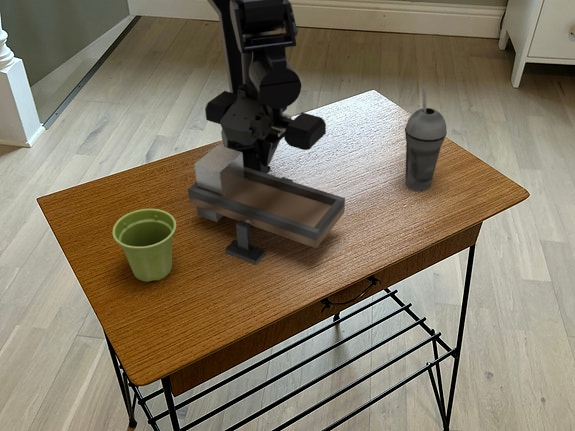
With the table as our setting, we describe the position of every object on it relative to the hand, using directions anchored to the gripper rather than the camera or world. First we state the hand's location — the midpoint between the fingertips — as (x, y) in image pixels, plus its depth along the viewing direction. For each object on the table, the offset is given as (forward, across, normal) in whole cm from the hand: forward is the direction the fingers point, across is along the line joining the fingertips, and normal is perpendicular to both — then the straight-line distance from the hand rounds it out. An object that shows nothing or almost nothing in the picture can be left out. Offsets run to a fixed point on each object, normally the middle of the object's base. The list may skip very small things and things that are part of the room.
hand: (266, 164), depth 98 cm
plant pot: (+12, -10, -19) cm, 25 cm away
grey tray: (+10, +1, -2) cm, 10 cm away
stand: (+12, +1, -2) cm, 12 cm away
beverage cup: (+12, +19, +23) cm, 32 cm away
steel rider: (+6, -8, -3) cm, 10 cm away
